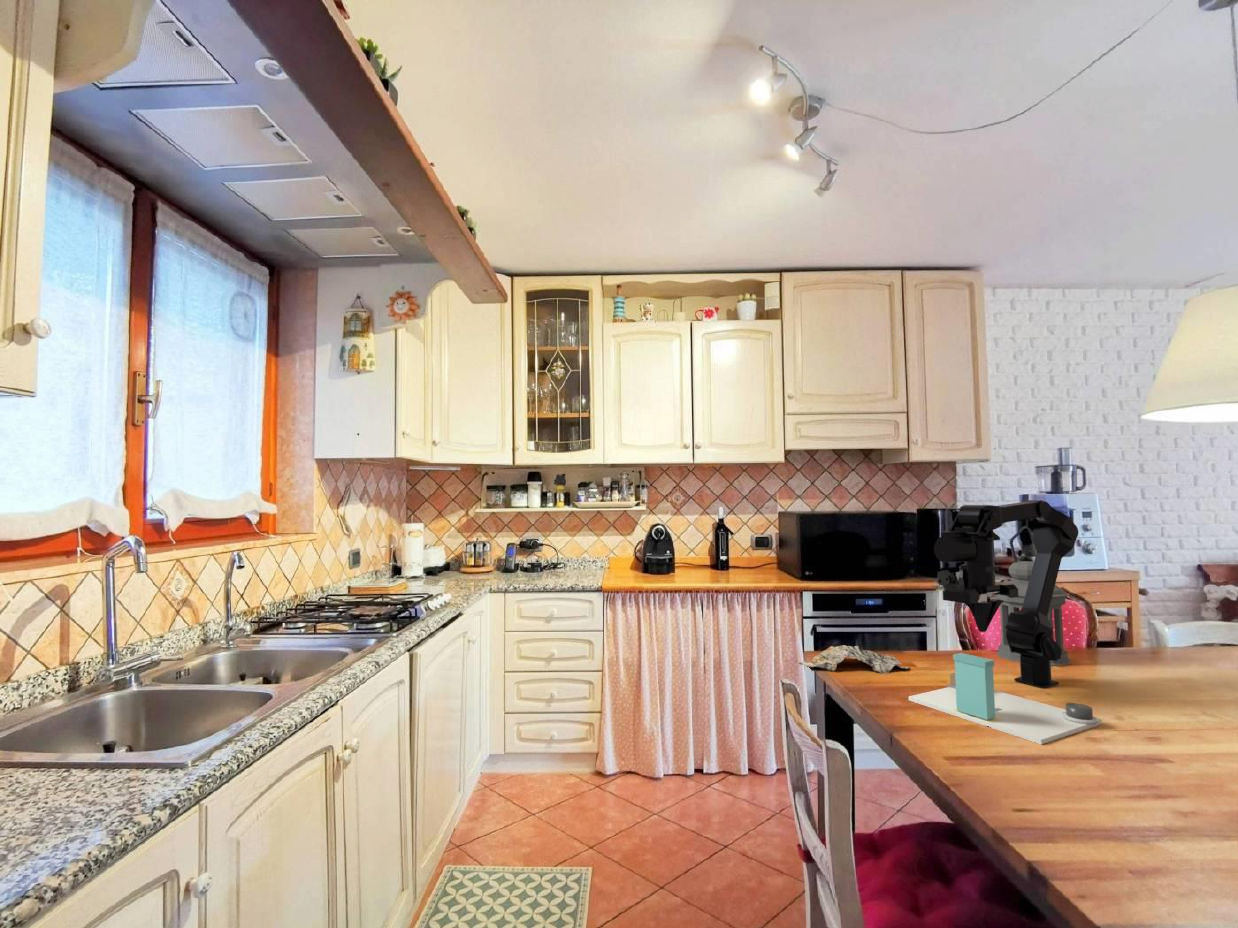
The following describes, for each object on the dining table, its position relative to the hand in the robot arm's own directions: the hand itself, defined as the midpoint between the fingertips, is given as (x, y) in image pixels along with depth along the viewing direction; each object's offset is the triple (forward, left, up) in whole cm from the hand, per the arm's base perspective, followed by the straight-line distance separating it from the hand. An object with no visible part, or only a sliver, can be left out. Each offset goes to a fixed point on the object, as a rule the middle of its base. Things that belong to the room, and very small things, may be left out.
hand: (982, 631), depth 133 cm
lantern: (-38, -11, -13) cm, 42 cm away
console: (+10, +9, -13) cm, 19 cm away
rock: (+8, -28, -14) cm, 33 cm away
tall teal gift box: (+18, +10, -12) cm, 24 cm away
